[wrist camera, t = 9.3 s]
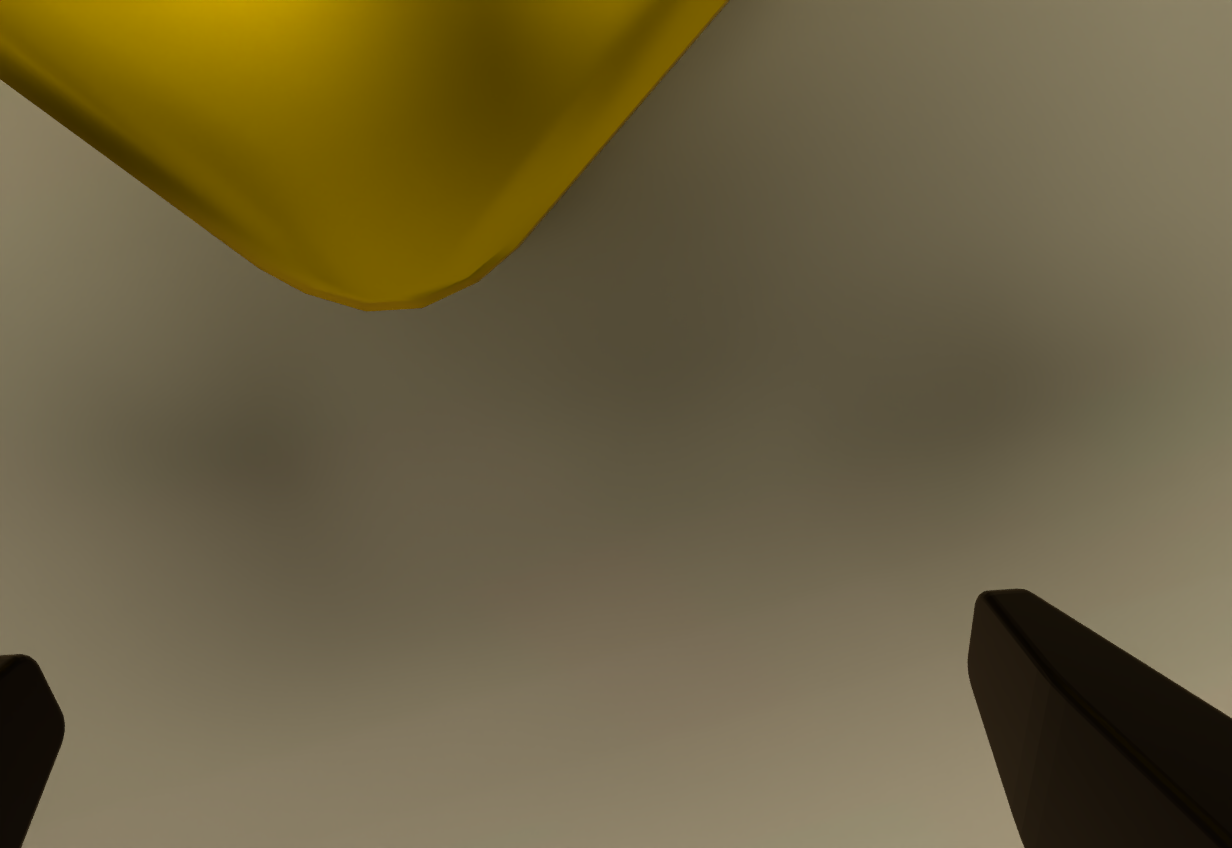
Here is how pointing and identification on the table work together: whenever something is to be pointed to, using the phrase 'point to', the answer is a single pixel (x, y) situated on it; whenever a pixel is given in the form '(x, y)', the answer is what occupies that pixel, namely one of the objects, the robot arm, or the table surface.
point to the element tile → (351, 119)
